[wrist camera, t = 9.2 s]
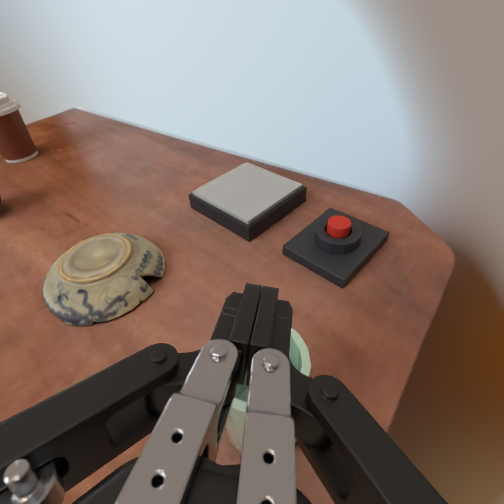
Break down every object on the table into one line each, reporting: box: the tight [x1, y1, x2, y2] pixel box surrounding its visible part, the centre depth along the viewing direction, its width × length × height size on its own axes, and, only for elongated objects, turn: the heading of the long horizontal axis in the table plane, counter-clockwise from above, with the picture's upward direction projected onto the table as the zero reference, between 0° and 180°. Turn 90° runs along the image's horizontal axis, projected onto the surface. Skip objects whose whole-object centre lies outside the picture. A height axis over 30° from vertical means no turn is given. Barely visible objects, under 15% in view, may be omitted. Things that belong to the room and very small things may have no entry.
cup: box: [226, 328, 311, 453], centre depth 22 cm, size 6×6×10 cm
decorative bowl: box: [43, 233, 165, 326], centre depth 38 cm, size 15×4×15 cm
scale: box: [189, 162, 307, 241], centre depth 48 cm, size 13×13×3 cm
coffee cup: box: [0, 93, 38, 163], centre depth 64 cm, size 9×9×12 cm
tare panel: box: [283, 208, 389, 288], centre depth 40 cm, size 11×9×3 cm
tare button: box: [327, 215, 351, 238], centre depth 38 cm, size 3×3×2 cm
